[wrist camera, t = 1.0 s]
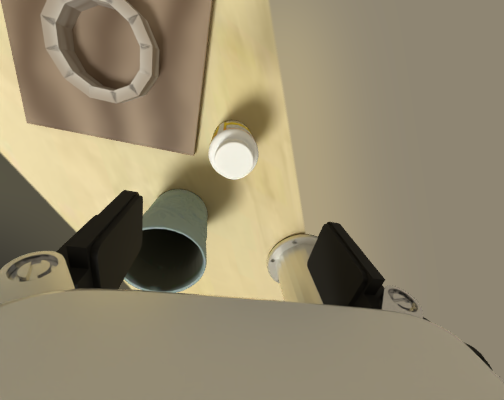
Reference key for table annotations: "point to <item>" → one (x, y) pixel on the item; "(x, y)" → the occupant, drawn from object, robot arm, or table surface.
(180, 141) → the collar board
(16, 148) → the table surface
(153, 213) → the blue-grey plant pot
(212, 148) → the supplement bottle
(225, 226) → the table surface
